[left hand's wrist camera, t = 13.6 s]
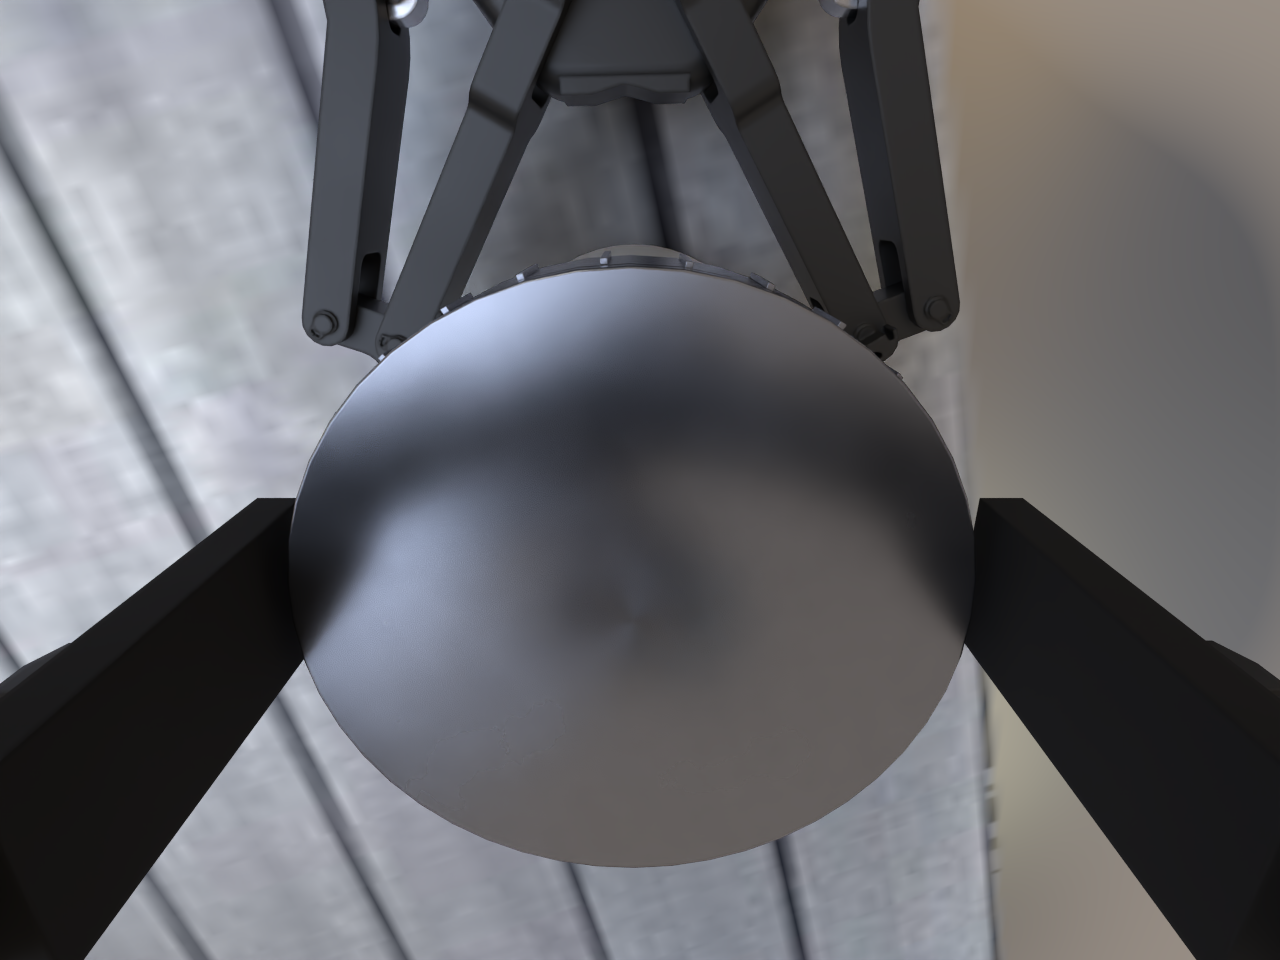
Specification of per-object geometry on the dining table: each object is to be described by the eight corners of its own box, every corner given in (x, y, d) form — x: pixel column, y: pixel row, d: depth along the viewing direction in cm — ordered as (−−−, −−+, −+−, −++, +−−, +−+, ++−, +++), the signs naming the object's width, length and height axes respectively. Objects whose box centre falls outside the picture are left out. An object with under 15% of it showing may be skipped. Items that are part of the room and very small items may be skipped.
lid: (985, 684, 15) (1043, 764, 12) (503, 840, 16) (483, 934, 14) (828, 133, 11) (872, 116, 9) (217, 405, 12) (132, 445, 10)
